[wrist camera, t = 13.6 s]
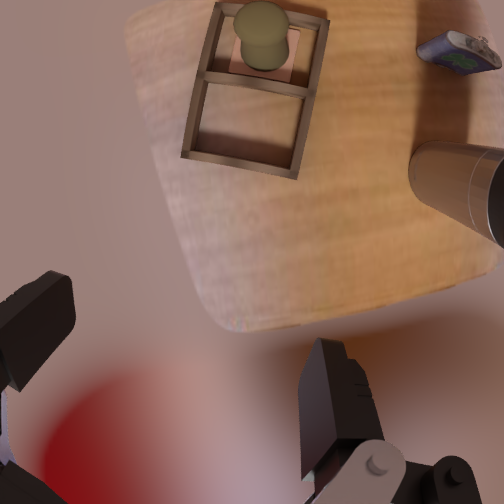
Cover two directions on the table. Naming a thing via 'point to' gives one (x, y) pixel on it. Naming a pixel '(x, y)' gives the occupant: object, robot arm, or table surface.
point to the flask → (459, 53)
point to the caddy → (255, 87)
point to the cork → (262, 35)
